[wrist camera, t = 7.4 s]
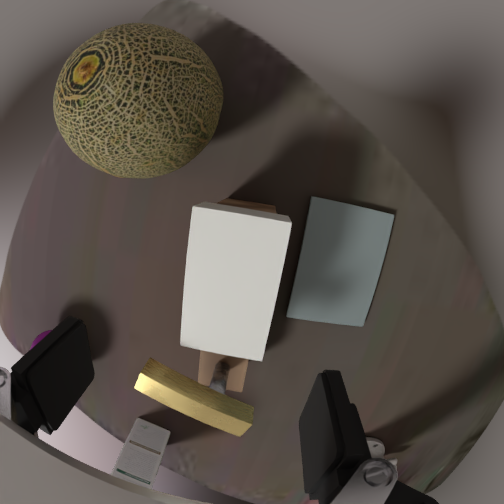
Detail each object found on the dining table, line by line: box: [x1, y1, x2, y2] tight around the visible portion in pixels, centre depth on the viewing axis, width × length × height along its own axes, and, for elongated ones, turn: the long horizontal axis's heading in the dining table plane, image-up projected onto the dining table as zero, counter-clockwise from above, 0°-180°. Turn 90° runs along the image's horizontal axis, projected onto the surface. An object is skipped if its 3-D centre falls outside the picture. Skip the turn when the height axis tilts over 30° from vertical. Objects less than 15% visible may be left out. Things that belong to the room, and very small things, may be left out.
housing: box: [198, 198, 277, 392], centre depth 25 cm, size 4×18×6 cm, turn 171°
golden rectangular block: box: [134, 358, 254, 436], centre depth 21 cm, size 2×9×6 cm, turn 61°
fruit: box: [53, 23, 223, 178], centre depth 16 cm, size 11×11×15 cm
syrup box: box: [111, 418, 171, 489], centre depth 28 cm, size 6×6×14 cm
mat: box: [286, 196, 394, 327], centre depth 26 cm, size 8×12×1 cm
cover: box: [180, 202, 292, 361], centre depth 19 cm, size 6×10×3 cm, turn 171°
